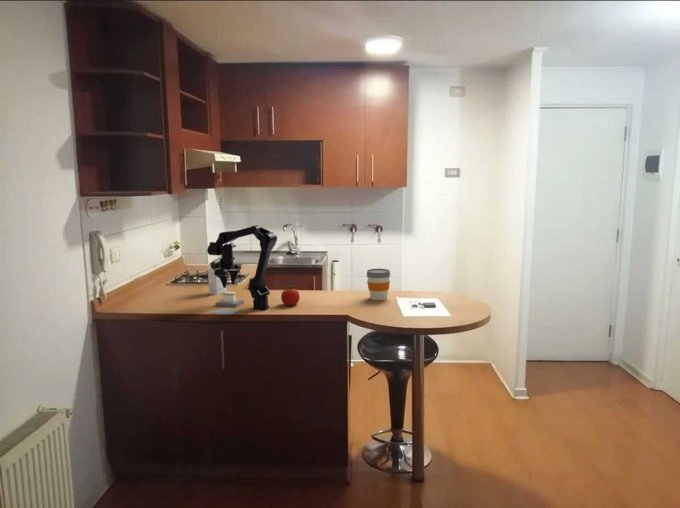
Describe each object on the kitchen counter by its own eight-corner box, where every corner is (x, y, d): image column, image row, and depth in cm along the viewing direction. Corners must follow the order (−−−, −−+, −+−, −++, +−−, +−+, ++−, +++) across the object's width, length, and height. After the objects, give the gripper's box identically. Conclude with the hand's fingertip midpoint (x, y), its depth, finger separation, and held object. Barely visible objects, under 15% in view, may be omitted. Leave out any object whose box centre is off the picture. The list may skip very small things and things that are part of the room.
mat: (239, 310, 250) (239, 309, 250) (232, 315, 242) (232, 314, 242) (217, 309, 253) (217, 308, 253) (209, 313, 246) (209, 312, 245)
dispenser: (243, 303, 264) (243, 299, 263) (236, 307, 256) (236, 303, 255) (223, 302, 267) (222, 298, 266) (215, 306, 259) (215, 301, 259)
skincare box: (219, 291, 293) (217, 265, 291) (227, 292, 290) (226, 265, 287) (208, 294, 286) (207, 267, 284) (217, 295, 283) (215, 268, 280)
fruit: (283, 307, 254) (282, 288, 253) (280, 303, 263) (279, 284, 262) (301, 306, 257) (301, 287, 255) (298, 301, 266) (297, 283, 264)
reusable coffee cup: (363, 299, 268) (362, 272, 265) (372, 294, 279) (372, 267, 276) (384, 302, 262) (384, 273, 260) (393, 296, 273) (393, 269, 271)
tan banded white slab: (236, 304, 261) (235, 292, 260) (234, 305, 259) (233, 293, 258) (225, 303, 263) (224, 291, 262) (223, 304, 261) (222, 292, 260)
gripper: (221, 252, 268) (223, 281, 271) (203, 258, 250) (205, 289, 253) (240, 253, 265) (242, 282, 268) (223, 259, 247) (225, 290, 250)
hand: (228, 285), depth 260 cm, fingers open, 9 cm apart
